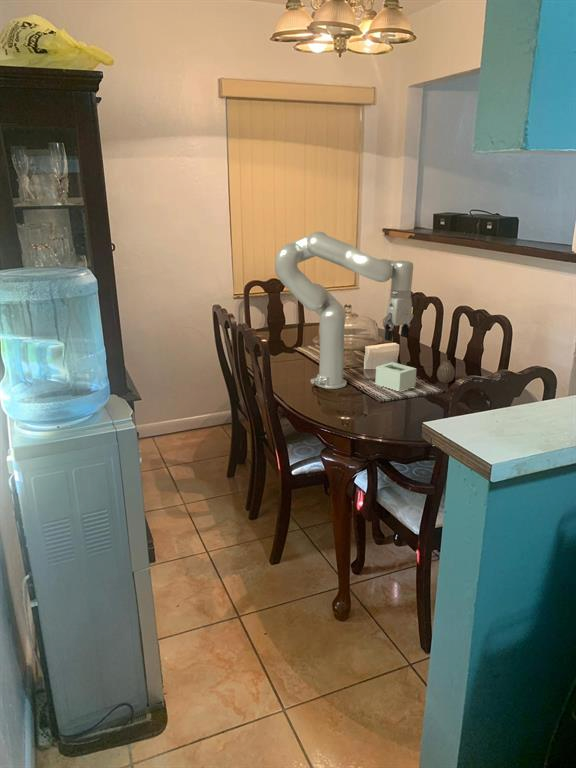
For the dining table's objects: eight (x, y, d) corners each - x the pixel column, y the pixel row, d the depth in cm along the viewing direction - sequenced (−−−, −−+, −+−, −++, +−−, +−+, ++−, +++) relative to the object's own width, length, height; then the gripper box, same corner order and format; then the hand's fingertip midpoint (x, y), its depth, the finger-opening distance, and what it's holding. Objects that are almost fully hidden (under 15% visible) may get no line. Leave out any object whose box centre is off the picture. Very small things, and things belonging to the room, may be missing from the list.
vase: (454, 384, 228) (456, 363, 225) (436, 383, 229) (438, 362, 226) (453, 379, 234) (455, 359, 232) (436, 378, 236) (437, 358, 233)
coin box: (399, 393, 218) (400, 373, 215) (375, 385, 226) (376, 366, 224) (415, 387, 224) (416, 368, 222) (391, 380, 233) (392, 362, 230)
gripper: (393, 298, 206) (389, 343, 211) (422, 293, 216) (418, 337, 222) (377, 295, 211) (374, 339, 216) (406, 291, 222) (402, 333, 227)
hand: (396, 338), depth 219 cm, fingers open, 9 cm apart
